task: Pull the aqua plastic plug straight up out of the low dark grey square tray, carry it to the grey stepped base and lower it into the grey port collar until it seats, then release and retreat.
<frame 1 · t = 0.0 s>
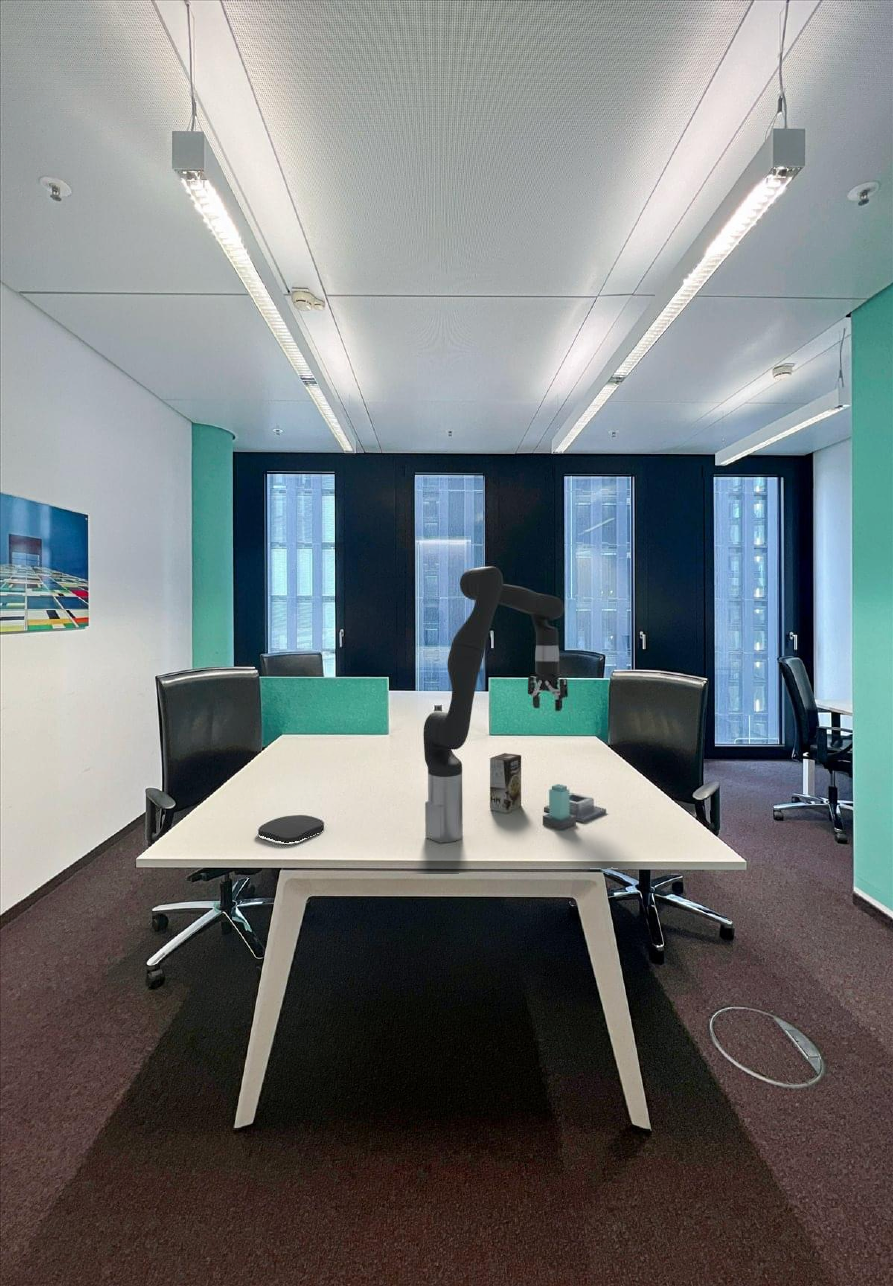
hand: (547, 709, 174), 29 cm above the table, fingers open, 8 cm apart
grey stepped base: (574, 812, 163), on the table
dark grey square tray: (559, 824, 152), on the table
coffee box: (505, 808, 167), on the table
media streaming box: (291, 834, 148), on the table
plug: (559, 805, 152), in the dark grey square tray
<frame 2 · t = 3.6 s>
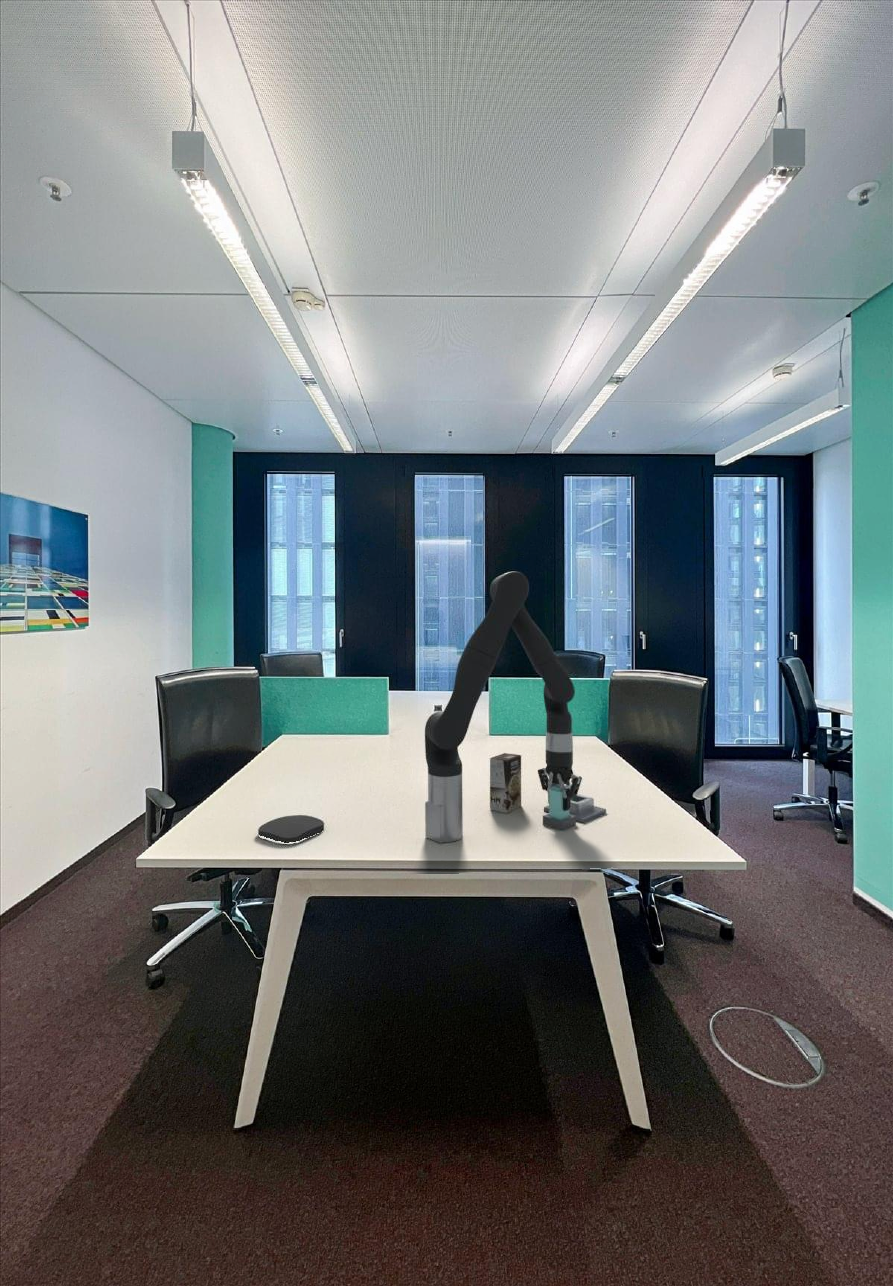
hand: (559, 808, 152), 5 cm above the table, fingers closed on plug, 4 cm apart
plug: (559, 805, 152), in the dark grey square tray, touching gripper
everything else where it was.
when the fingers open (6 cm above the table, at t = 8.2 s): plug stays where it is, resting on grey stepped base.
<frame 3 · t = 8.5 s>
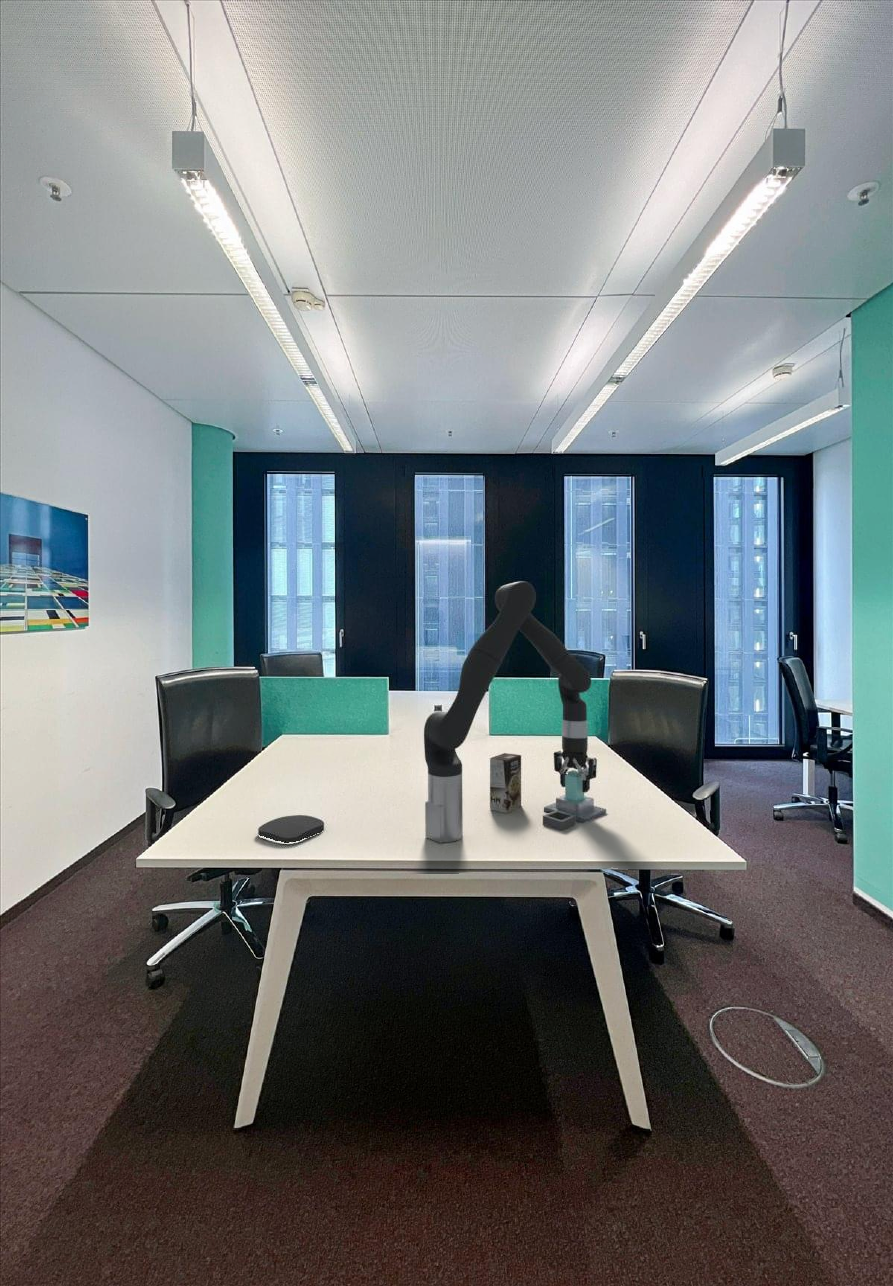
hand: (574, 789, 162), 7 cm above the table, fingers open, 7 cm apart
plug: (574, 790, 162), in the grey stepped base, point 7 cm above the table
everything else where it was.
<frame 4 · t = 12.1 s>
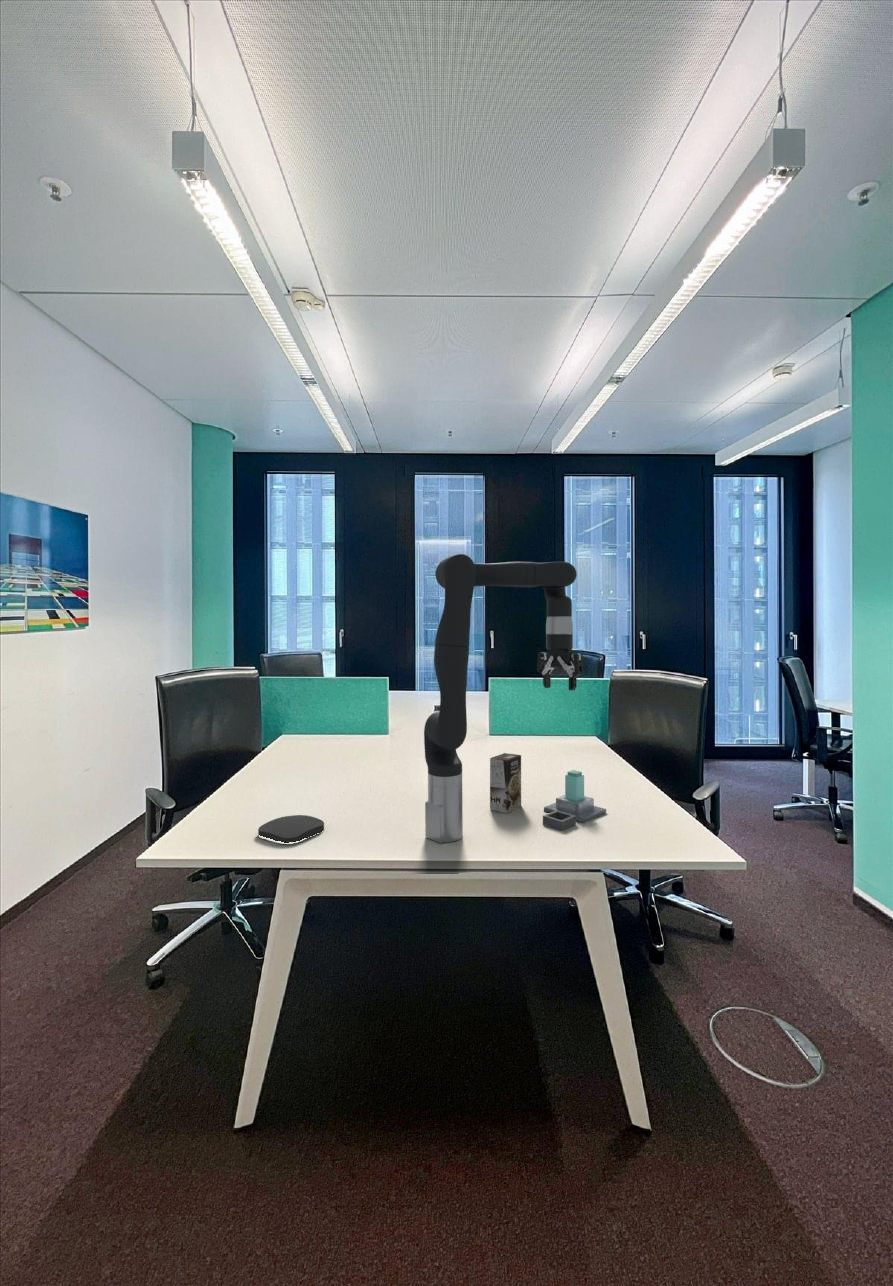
hand: (559, 689, 155), 38 cm above the table, fingers open, 8 cm apart
nothing on the table moved.
at the end: plug 0.0 cm off-centre on the grey stepped base, point 6.7 cm above the grey stepped base's base; plug tilted 0°; the gripper is holding nothing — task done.
